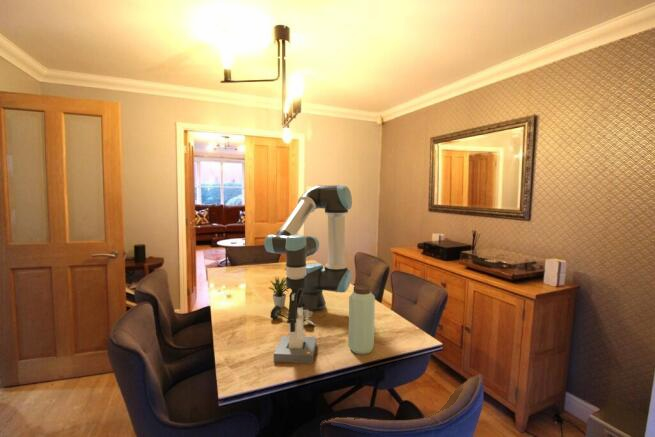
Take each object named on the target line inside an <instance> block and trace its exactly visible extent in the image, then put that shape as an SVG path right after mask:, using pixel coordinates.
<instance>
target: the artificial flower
mask: <svg viewBox="0 0 655 437" xmlns="http://www.w3.org/2000/svg"><path fill="white" fill-rule="evenodd" d="M313 314H314V312H312V311H308V310H303V323H304V322H307V323H308V324H310V325H313V326H317V324H316V323H313V322H312V321H311V320H310V319H309V318H310V317H312V315H313ZM279 316H280V317H281V318H285V319H287V320H288V316H285V315H283V314H282V308H281V307H279V306H275V305H274V307H273V308H272V310H271V311H270V319H273V320H276V319H277V318H278V317H279Z"/></svg>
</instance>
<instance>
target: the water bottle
mask: <svg viewBox="0 0 655 437" xmlns="http://www.w3.org/2000/svg"><path fill="white" fill-rule="evenodd" d="M371 289H372V287H371V286H369V285H366V284H355V285H354V286H353V291H352V293H351V294H350V295H349V296H348V299H349V300H348V301H349V302H348V304H349V305H348V347H349V349H350V350H351V351H352V352H353V353H354V354H359V355H366V354H370V353H371V352H372V351H373V349H374V347H375V344H374V342H375V312H376V310H375V309H376V308H375V306H376V304H375V303H376V300H375V299H376V297H375V295H374V294H373V293H372V290H371Z"/></svg>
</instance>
